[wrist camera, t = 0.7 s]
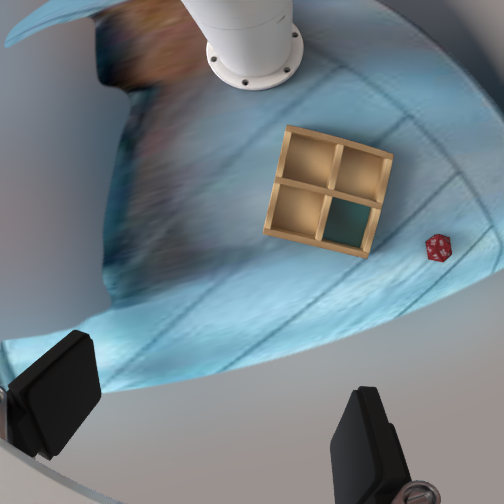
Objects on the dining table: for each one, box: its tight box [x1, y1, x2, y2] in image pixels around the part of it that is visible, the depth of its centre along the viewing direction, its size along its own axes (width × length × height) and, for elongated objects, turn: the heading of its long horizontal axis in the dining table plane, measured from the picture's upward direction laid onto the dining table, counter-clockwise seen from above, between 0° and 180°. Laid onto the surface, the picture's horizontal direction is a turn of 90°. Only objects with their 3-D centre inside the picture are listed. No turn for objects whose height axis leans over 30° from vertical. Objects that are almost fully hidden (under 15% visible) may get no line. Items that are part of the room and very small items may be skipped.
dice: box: [426, 234, 452, 262], centre depth 36 cm, size 4×4×4 cm
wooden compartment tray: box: [263, 125, 394, 259], centre depth 37 cm, size 14×14×3 cm
